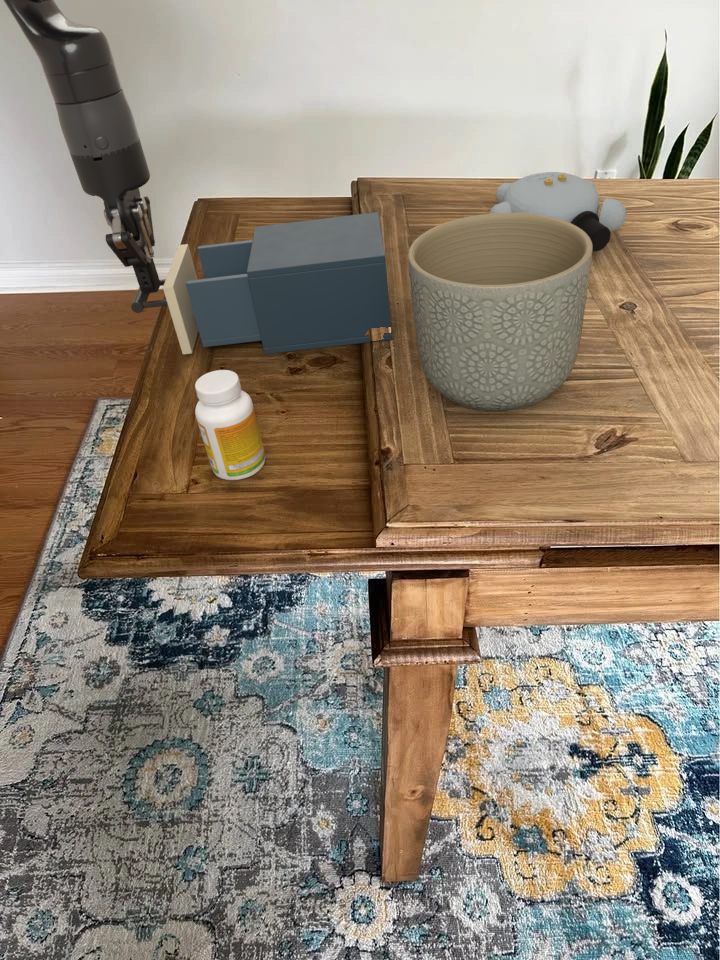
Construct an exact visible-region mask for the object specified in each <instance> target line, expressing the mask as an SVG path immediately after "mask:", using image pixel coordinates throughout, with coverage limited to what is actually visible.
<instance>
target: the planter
mask: <svg viewBox="0 0 720 960" xmlns="http://www.w3.org/2000/svg"><path fill="white" fill-rule="evenodd" d="M592 249H593V245H592V241H591V239H590V237H589V236H588V235H587V234H586V233H585V232H584V231H583V230H582V229H580V228H579V227H577V226H575V225H573V224H571V223H569V222H566V221H564V220H561V219H557V218H553V217H549V216H544V215H537V214H528V213H492V214H490V213H484V214H483V213H482V214H475V215H471V216H465V217H460V218H457V219H452V220H450V221H446V222H443V223H441V224H439V225H437V226H434V227H432V228H430V229H428V230H427V231H425V232H423V233H422V234H421V235H419V236H418V237H417V238H415V240H414V241H412V243H411V245H410V246H409V249H408V253H407V254H408V255H407V257H408V259H407V261H408V274H409V275H408V276H409V284H410V285H409V286H410V295H411V304H412V311H413V312H412V313H413V321H414V332H415V343H416V349H417V354H418V355H417V356H418V361H419V365H420V368H421V370H422V372H423V375H424V376H425V378H426V379H427V381H428V382H429V384H430V385H431V386H432V387H433V389H435V390H436V391H437V392H438V393H439V394H441V395H442V396H443V397H445V398H446V399H448V400H449V401H451V402H453V403H455V404H457V405H459V406H461V407H464V408H467V409H472V410H475V411H480V412H481V411H482V412H490V413H491V412H492V413H493V412H494V413H501V412H511V411H517V410H521V409H523V408H524V409H525V408H527V407H530V406H533V405H535V404H537V403H539V402H541V401H543V400H545V399H546V398H548V397H550V396H551V395H552V394H554V393H555V392H556V391H557V390H559V389H560V388H561V387H562V386H563V385H564V384H565V382H566V381H567V380H568V378H569V377H570V375H571V373H572V372H573V370H574V367H575V366H576V362H577V359H578V354H579V350H580V345H581V340H582V333H583V325H584V318H585V311H586V305H587V298H588V292H589V284H590V275H591V268H592V261H593V259H592V258H593V251H592Z"/></svg>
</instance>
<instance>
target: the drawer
mask: <svg viewBox="0 0 720 960" xmlns="http://www.w3.org/2000/svg"><path fill="white" fill-rule="evenodd" d="M252 241H253V239H247V240H239V241H232V242H224V243H214V244H206V245H199V246H197V253H198V257H199V261H200V264H201V268H202V273H203V277H204V278H202V279H201V278H200V279H198V276H197V272H196V269H195V268H196V267H195V264H194V260H193V258H192V257H193V256H192V253H191V250H190V246H189V243H185V244H178V247H177V250H176V252H175V254H174V257H173V260H172V262H171V264H170V268H169V270H168V273H167V275H166V278H164V279H159V280H160V283H161V285H160V287H162V290H163V293H164V297H165V299H158V300H150V301H149V300H148V299H149V297H150V294H151V293H146V294H145V293H142V292H141V290H140V287H139V286H138V289H137V291H136V294H135V296H134V298H133V300H132V302H131V305H130V308H131V310H132V312H134V313H136V314H140V313H143V311H144V309H150V308H151V309H152V308H159V307H168V311H169V314H170V316H171V319H172V324H173V327H174V330H175V334H176V336H177V340H178V343H179V347H180V350H181V353H182V355H192V354H193V352H194V348H195V345H196V340H197V337H198V334H199V337H200V338H199V339H200V341H201V345H202V347H203V348H208V347H209V348H210V347H217V346H226V345H235V344H242V343H252V342H259V341H260V342H262V340H261V336H260V331H259V327H258V322H257V317H256V313H255V308H254V303H253V299H252V294H251V290H250V285H249V280H248V276H247V268H248V263H249V257H250V252H251V247H252Z"/></svg>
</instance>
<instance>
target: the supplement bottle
mask: <svg viewBox="0 0 720 960" xmlns="http://www.w3.org/2000/svg"><path fill="white" fill-rule="evenodd" d="M194 388H195V392H196V397H197V399H198V401H197V403H196V406H195V409H194V414H195V419H196V423H197V425H198V429H199V431H200V435H201V439H202V442H203V446H204V448H205V452H206V456H207V458H208V461H209V464H210V468H211V470H212V473H214V474H215V476H216V477H218V478H219V479H221V480H227V481H238V480H239V481H240V480H243V479H247V478H249V477H252V476H254V475H256V474H257V473H258V472H259V471H260V470H261V469H262V468H263V467H264V465H265V462H266V453H265V448H264V445H263V440H262V436H261V431H260V428H259V424H258V419H257V416H256V411H255V406H254V403H253V400H252V398H251V396H250V395H249V394H248V393H247V392H246V391H245V390H243V389H242V385H241V381H240V377H239V376H238V374H237V373H236V372H235V371H233V370H229V369H218V370H217V369H216V370H213V371H209V372H206V373H205V374H202V375H201V376H200V377H198V378H197V380H196V381H195V383H194Z"/></svg>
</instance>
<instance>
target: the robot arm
mask: <svg viewBox="0 0 720 960" xmlns="http://www.w3.org/2000/svg"><path fill="white" fill-rule="evenodd" d="M3 2H4V3H5V5H6V7H7V8H8V10H9V13H11V15H12V16H13V18H14V20H15V21H16V23H17V24H18V26H19V28H20V30H21V32H22V33H23V35H24V36H25V38H26V39H27V41H28V43H29V45H30V46H31V47H32V49H33V51H34V52H35V55H36V56H37V59H38V60H39V62H40V65H41V68H42V70H43V73H44V77H45V80H46V83H47V85H48V87H49V90H50V93H51V96H52V99H53V101H54V102H53V103H54V105H55V109H56V112H57V117H58V122H59V126H60V129H61V133H62V135H63V138H64V141H65V143H66V146H67V149H68V152H69V155H70V158H71V161H72V164H73V166H74V169H75V171H76V174H77V177H78V180H79V183H80V185H81V186H80V187H81V188H82V191H83V192H84V193H85V194H86V195H88V196H91V197H99V198H100V199H102V201H103V206H104V209H103V216H104V218H105V221H106V224H107V225H108V226H109V227H110V228H111V233H106V234H105V242H106V244H107V246H108V247H109V248H110V250H111V251H112V252H113V253H114V254H115V256H116V257H117V259H118V260H119V261H120V262H121V264H122V265H123V266H124V267H126V268H129V267H132V268H133V272H134V274H135V277H136V280H137V283H138V284H137V285H138V288H139V287H140V290H141V292H142V293H145V294H146V293H150V294H153V293H157V292H159V290H160V287H161V286H160V285H161V283H160V280H161V279H160V277H159V274H158V270H157V268H156V263H155V261H154V257H155V251H154V249H153V247H155V245H156V244H155V243H156V240H155V235H154V227H153V218H152V210H151V201H150V198H149V197H148V196H141V191H140V188H142V187H143V186H145V185H146V184H147V183H148V182H149V181H150V178H151V173H150V170H149V169H150V168H149V166H148V162H147V159H146V155H145V152H144V149H143V146H142V143H141V139H140V136H139V132H138V129H137V125H136V122H135V118H134V115H133V112H132V110H131V107H130V105H129V102H128V100H127V98H126V95H125V93H124V90H123V86H122V83H121V79H120V76H119V72H118V69H117V65H116V62H115V59H114V56H113V53H112V52H113V51H112V50H111V46H110V42H109V40H108V38H107V35H106V34H105V33H104V32H103V31H102V30H101V29H99V28H98V27H95V26H92V25H87V24H82V23H77V22H74V21H71V20H70V19H69V18H67V17H66V15H65V14H64V13H63V12H62V10H61V9H60V7H59V5H57V2H55V0H3Z"/></svg>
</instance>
